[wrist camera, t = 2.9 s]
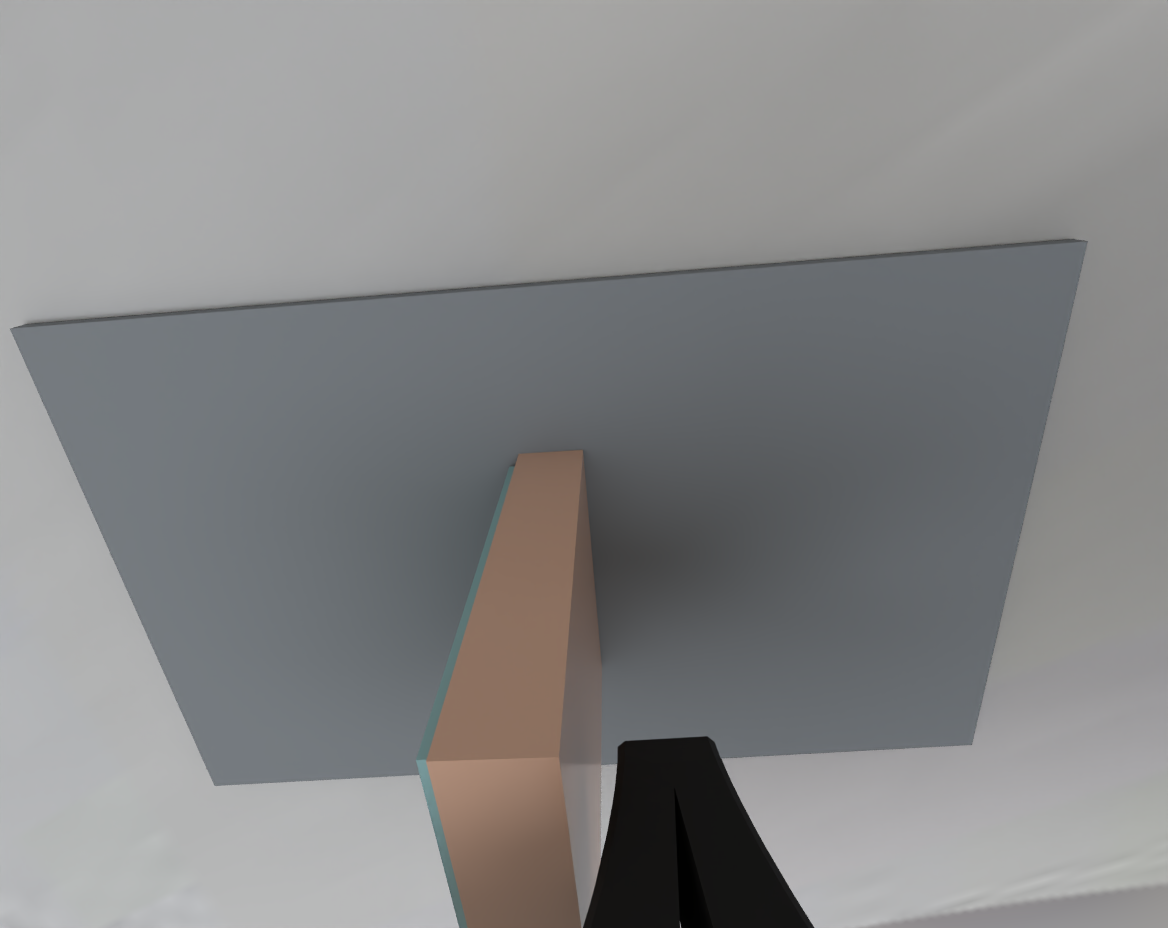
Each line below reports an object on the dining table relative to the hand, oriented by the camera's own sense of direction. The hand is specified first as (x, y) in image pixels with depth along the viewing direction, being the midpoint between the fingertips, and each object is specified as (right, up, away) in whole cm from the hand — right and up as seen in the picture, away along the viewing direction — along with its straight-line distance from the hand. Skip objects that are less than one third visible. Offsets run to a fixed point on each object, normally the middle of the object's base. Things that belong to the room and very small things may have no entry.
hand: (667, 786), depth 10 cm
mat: (-2, +3, +6) cm, 7 cm away
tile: (-2, +2, +6) cm, 6 cm away
